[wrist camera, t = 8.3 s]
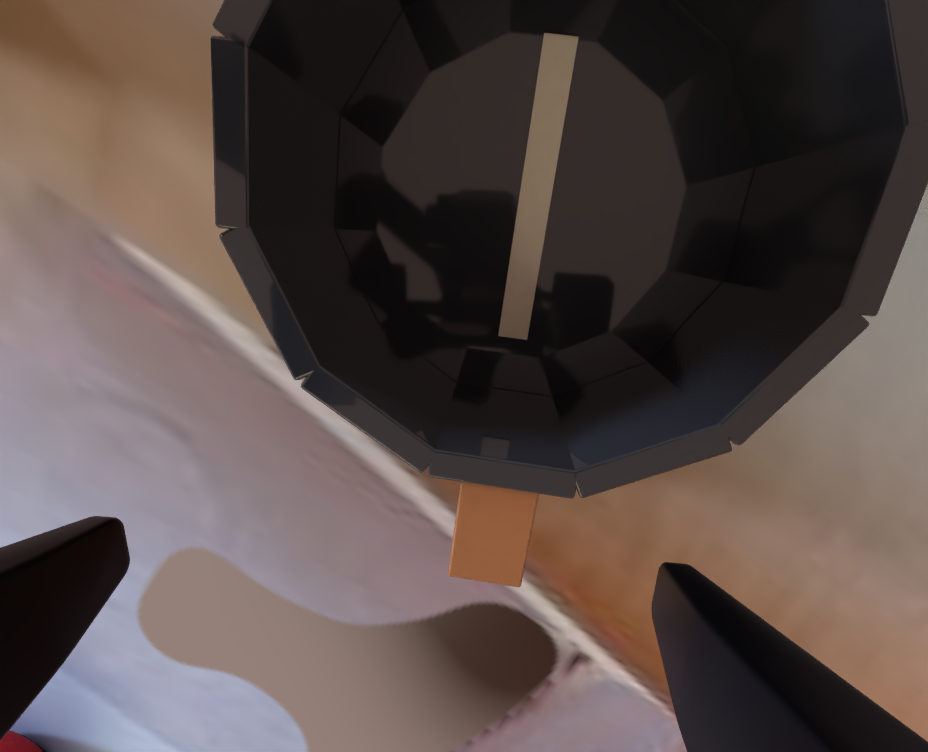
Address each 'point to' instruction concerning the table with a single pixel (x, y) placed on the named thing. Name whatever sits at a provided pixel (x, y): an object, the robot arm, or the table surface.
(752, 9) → the bowl
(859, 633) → the table surface
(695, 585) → the robot arm
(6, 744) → the apple
